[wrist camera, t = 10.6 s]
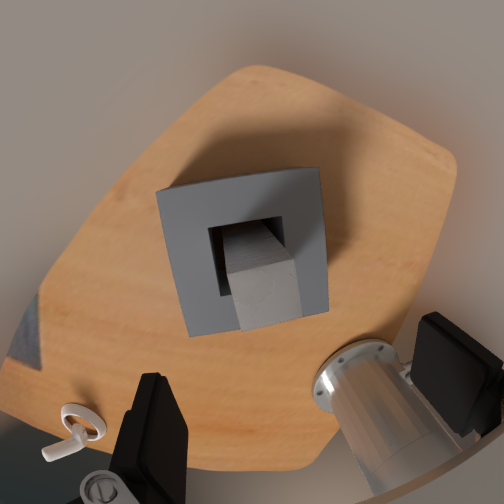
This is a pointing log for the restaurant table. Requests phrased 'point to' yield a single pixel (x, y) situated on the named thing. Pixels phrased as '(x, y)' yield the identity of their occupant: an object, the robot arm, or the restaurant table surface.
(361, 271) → the restaurant table surface
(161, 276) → the restaurant table surface
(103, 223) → the restaurant table surface
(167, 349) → the restaurant table surface
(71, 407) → the hook
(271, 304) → the steel post
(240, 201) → the well block
